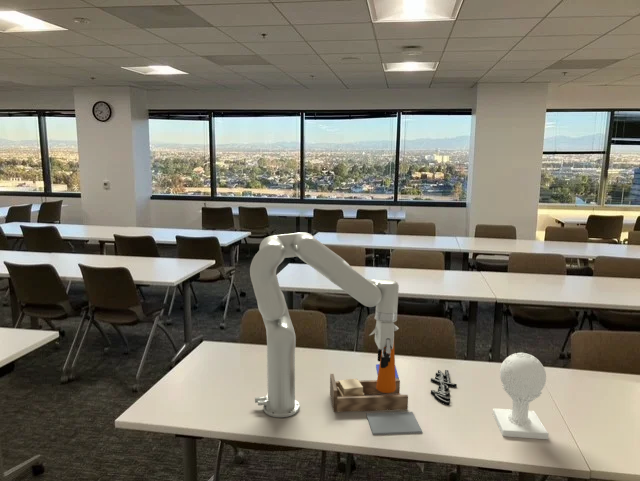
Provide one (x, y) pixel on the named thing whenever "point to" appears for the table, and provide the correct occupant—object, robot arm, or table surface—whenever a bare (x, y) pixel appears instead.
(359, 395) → the offcut middle
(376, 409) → the wooden box
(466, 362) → the table surface
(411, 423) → the mat
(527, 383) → the trophy
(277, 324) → the robot arm
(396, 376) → the hard drive
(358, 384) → the offcut top
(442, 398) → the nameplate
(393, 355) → the spray bottle
